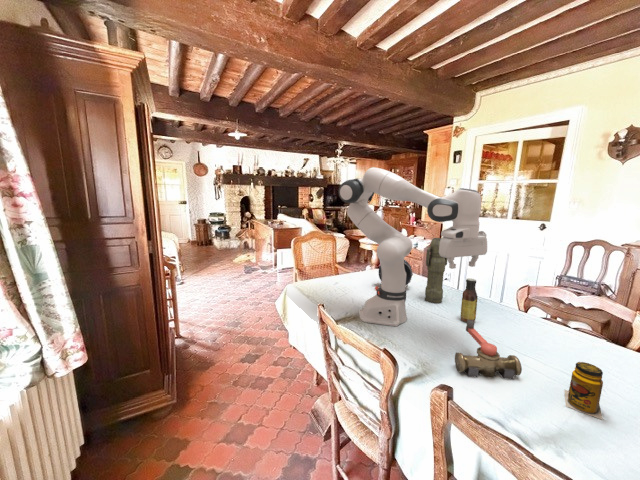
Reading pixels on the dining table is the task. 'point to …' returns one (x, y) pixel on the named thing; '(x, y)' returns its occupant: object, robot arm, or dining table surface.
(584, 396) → the condiment
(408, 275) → the ring
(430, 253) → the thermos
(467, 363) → the valve body
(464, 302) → the sauce bottle
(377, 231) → the robot arm
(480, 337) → the lever
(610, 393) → the dining table surface
